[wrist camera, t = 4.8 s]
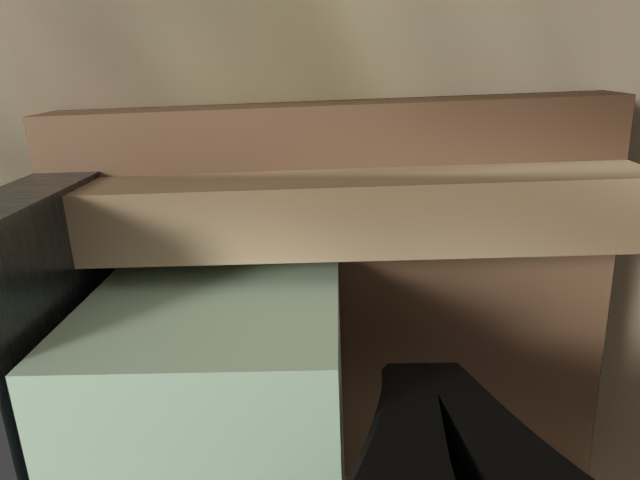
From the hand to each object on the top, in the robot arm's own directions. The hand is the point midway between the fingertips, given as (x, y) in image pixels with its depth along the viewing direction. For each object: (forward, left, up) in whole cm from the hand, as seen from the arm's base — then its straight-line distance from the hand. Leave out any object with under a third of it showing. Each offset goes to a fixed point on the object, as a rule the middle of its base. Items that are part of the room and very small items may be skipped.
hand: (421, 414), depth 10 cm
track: (0, +2, -3) cm, 3 cm away
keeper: (0, +3, -2) cm, 4 cm away
